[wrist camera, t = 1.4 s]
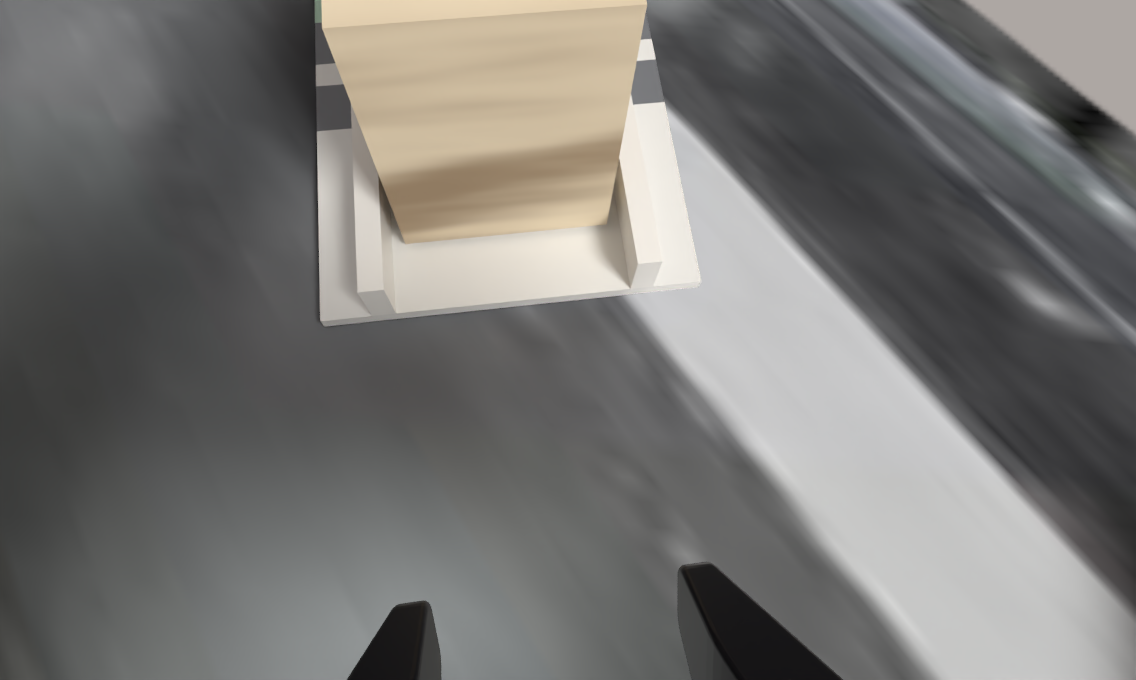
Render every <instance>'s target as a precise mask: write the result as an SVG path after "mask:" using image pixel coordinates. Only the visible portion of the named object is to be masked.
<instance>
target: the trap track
mask: <svg viewBox="0 0 1136 680" xmlns="http://www.w3.org/2000/svg"><path fill="white" fill-rule="evenodd" d="M315 51H316V109H317V166H318V223H319V281H320V322H321V323H322V324H323V325H324V327H325V326H335V325H344V324H354V323H363V322H373V321H382V320H392V319H401V318H411V317H420V316H430V315H439V314H449V313H458V312H468V311H477V310H487V309H496V308H506V307H515V306H525V305H534V304H544V303H553V302H563V301H572V300H582V299H591V298H601V297H610V296H620V295H629V294H639V293H648V292H658V291H667V290H677V289H686V288H696V287H699V285H700V283H701V277H700V272H699V267H698V262H697V258H696V253H695V248H694V243H693V238H692V233H691V228H690V224H689V219H688V214H687V209H686V204H685V199H684V195H683V190H682V185H681V180H680V175H679V170H678V165H677V161H676V156H675V151H674V146H673V141H672V136H671V132H670V127H669V122H668V117H667V112H666V107H665V102H664V98H663V93H662V88H661V83H660V78H659V73H658V69H657V64H656V59H655V54H654V49H653V44H652V39H651V35H650V30H649V25H648V20H647V15H646V13H645V19H644V24H643V30H642V35H641V41H640V46H639V51H638V57H637V62H636V68H635V73H634V79H633V84H632V90H631V95H630V100H629V106H628V111H627V117H626V122H625V128H624V133H623V139H622V144H621V149H620V155H619V160H618V166H617V171H616V177H615V182H614V188H613V193H612V198H611V204H610V209H609V215H608V220H607V224H606V225H596V226H585V227H575V228H565V229H555V230H544V231H534V232H524V233H513V234H503V235H493V236H483V237H472V238H462V239H452V240H442V241H431V242H421V243H411V244H405V242H404V239H403V236H402V234H401V231H400V229H399V226H398V224H397V221H396V218H395V216H394V213H393V211H392V208H391V205H390V203H389V200H388V198H387V195H386V192H385V190H384V187H383V185H382V182H381V180H380V177H379V174H378V172H377V169H376V167H375V164H374V161H373V159H372V156H371V154H370V151H369V149H368V146H367V143H366V141H365V138H364V136H363V133H362V130H361V128H360V125H359V123H358V120H357V117H356V115H355V112H354V110H353V107H352V105H351V102H350V99H349V97H348V94H347V92H346V89H345V86H344V84H343V81H342V79H341V76H340V74H339V71H338V68H337V66H336V63H335V61H334V58H333V55H332V53H331V50H330V48H329V45H328V42H327V40H326V37H325V35H324V32H323V30H322V4H321V0H315Z"/></svg>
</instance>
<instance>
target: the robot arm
mask: <svg viewBox="0 0 1136 680" xmlns="http://www.w3.org/2000/svg"><path fill="white" fill-rule="evenodd" d="M677 611H678V623H679V629H680V633H681V638H682V642H683V646H684V650H685V654H686V658H687V662H688V666H689V671H690V675H691V679H692V680H843V679H842V678H841V677H840V676H839V675H837V674H836V673H835V672H834V671H833V670H832V669H831V668H830V667H828V666H827V665H826V664H825V663H824V662H823V661H822V660H821V659H819V658H818V657H817V656H816V655H815V654H814V653H813V652H812V651H810V650H809V649H808V648H807V647H806V646H805V645H804V644H803V643H802V642H800V641H799V640H798V639H797V638H796V637H795V636H794V635H793V634H791V633H790V632H789V631H788V630H787V629H786V628H785V627H784V626H782V625H781V624H780V623H779V622H778V621H777V620H776V619H775V618H774V617H772V616H771V615H770V614H769V613H768V612H767V611H766V610H765V609H763V608H762V607H761V606H760V605H759V604H758V603H757V602H756V601H754V600H753V599H752V598H751V597H750V596H749V595H748V594H747V593H746V592H744V591H743V590H742V589H741V588H740V587H739V586H738V585H737V584H735V583H734V582H733V581H732V580H731V579H730V578H729V577H728V576H726V575H725V574H724V573H723V572H722V571H721V570H720V569H719V568H717V567H716V566H715V565H714V564H712V563H710V562H701V563H694V564H687V565H682V566H681V567H680V568H679V570H678V608H677ZM347 680H441V656H440V648H439V643H438V638H437V633H436V628H435V623H434V618H433V613H432V609H431V606H430V604H429V603H428V602H426V601H417V602H410V603H403V604H398V605H396V606H395V607H394V608H393V609H392V610H391V612H390V613H389V615H388V617H387V618H386V620H385V621H384V623H383V624H382V626H381V627H380V629H379V631H378V632H377V634H376V635H375V637H374V638H373V640H372V641H371V643H370V645H369V646H368V648H367V649H366V651H365V652H364V654H363V655H362V657H361V658H360V660H359V662H358V663H357V665H356V666H355V668H354V669H353V671H352V672H351V674H350V676H349V677H348V679H347Z"/></svg>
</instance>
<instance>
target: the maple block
mask: <svg viewBox="0 0 1136 680" xmlns="http://www.w3.org/2000/svg"><path fill="white" fill-rule="evenodd" d="M321 4H322V30H323V32H324V35H325V37H326V40H327V42H328V45H329V48H330V50H331V53H332V55H333V58H334V61H335V63H336V66H337V68H338V71H339V74H340V76H341V79H342V81H343V84H344V86H345V89H346V92H347V94H348V97H349V99H350V102H351V105H352V107H353V110H354V112H355V115H356V117H357V120H358V123H359V125H360V128H361V130H362V133H363V136H364V138H365V141H366V143H367V146H368V149H369V151H370V154H371V156H372V159H373V161H374V164H375V167H376V169H377V172H378V174H379V177H380V180H381V182H382V185H383V187H384V190H385V192H386V195H387V198H388V200H389V203H390V205H391V208H392V211H393V213H394V216H395V218H396V221H397V224H398V226H399V229H400V231H401V234H402V236H403V239H404V242H405V244H411V243H421V242H431V241H442V240H452V239H462V238H472V237H483V236H493V235H503V234H513V233H524V232H534V231H544V230H555V229H565V228H575V227H585V226H596V225H606V224H607V220H608V215H609V209H610V204H611V198H612V193H613V188H614V182H615V177H616V171H617V166H618V160H619V155H620V149H621V144H622V139H623V133H624V128H625V122H626V117H627V111H628V106H629V100H630V95H631V90H632V84H633V79H634V73H635V68H636V62H637V57H638V51H639V46H640V41H641V35H642V30H643V24H644V19H645V13H646V8H647V1H646V0H321Z"/></svg>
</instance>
